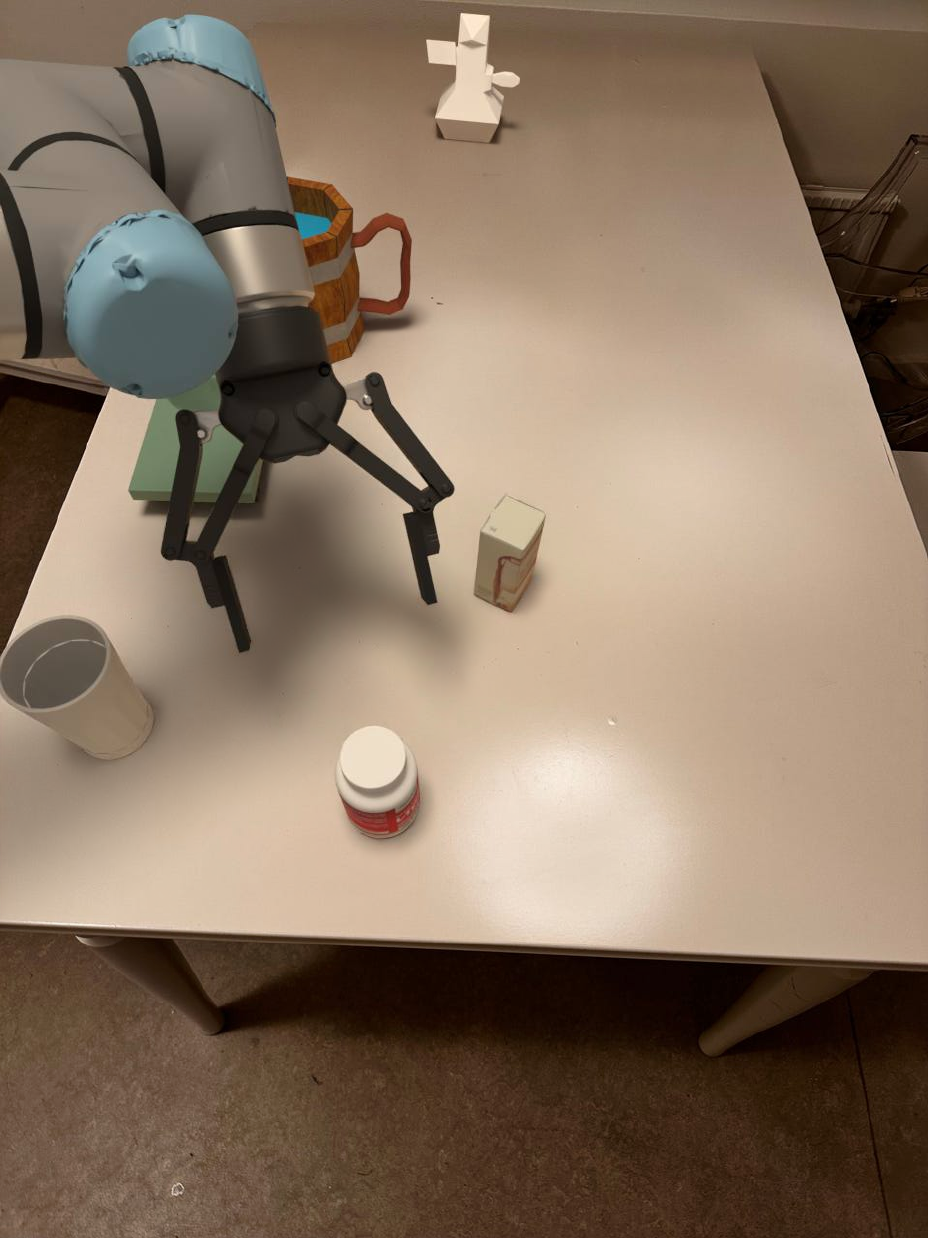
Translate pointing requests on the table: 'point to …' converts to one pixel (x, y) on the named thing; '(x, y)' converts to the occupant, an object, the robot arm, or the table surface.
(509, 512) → the small juice carton
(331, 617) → the table surface
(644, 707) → the table surface
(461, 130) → the white low-poly figurine
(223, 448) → the green rounded-end slab
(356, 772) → the pill bottle
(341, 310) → the mug
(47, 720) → the cup
